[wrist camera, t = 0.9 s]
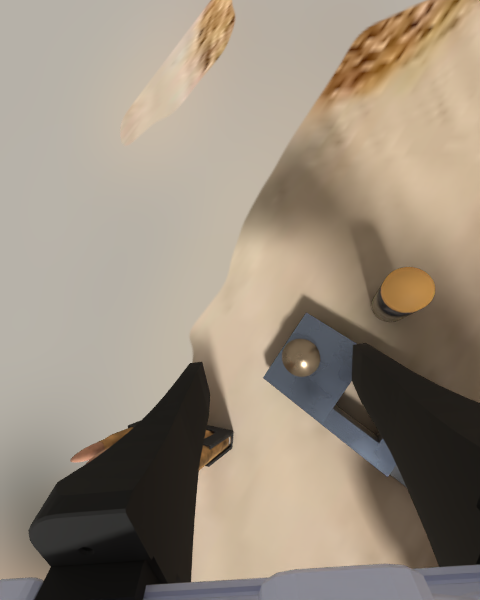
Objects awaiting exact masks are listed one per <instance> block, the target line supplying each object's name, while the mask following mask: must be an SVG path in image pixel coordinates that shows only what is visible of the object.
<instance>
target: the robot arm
mask: <svg viewBox="0 0 480 600" xmlns="http://www.w3.org/2000/svg"><path fill="white" fill-rule="evenodd" d="M352 381H353V384H354V386H355V389H356V391H357V393H358V396H359V398H360V400H361V402H362V404H363V405H364V407H365V409H366V410H367V412H368V414H369V416H370V417H371V419H372V421H373V422H374V424H375V426H376V428H377V429H378V431H379V433H380V434H381V436H382V438H383V440H384V441H385V443H386V445H387V447H388V449H389V450H390V452H391V454H392V456H393V458H394V461H395V463H396V465H397V467H398V469H399V471H400V474H401V476H402V478H403V480H404V482H405V485H406V487H407V489H408V491H409V494H410V496H411V498H412V500H413V503H414V505H415V507H416V510H417V512H418V515H419V517H420V519H421V522H422V524H423V527H424V529H425V531H426V534H427V536H428V539H429V541H430V544H431V546H432V549H433V552H434V554H435V557H436V559H437V562H438V564H439V567H432V568H416V569H411V568H409V567H407V566H405V565H396V564H373V565H358V566H342V567H326V568H310V569H294V570H289V571H284V572H279V573H276V574H274V575H273V576H271V577H269V578H253V579H237V580H221V581H204V582H191V570H192V550H193V534H194V518H195V506H196V493H197V483H198V472H199V465H200V459H201V453H202V448H203V443H204V438H205V432H206V427H207V422H208V416H209V405H210V392H209V388H208V384H207V379H206V375H205V371H204V367H203V363H202V362H197V363H190V364H189V365H188V367H187V368H186V369H185V370H184V372H183V373H182V374H181V376H180V377H179V378H178V380H177V381H176V382H175V383H174V385H173V386H172V387H171V389H170V390H169V391H168V392H167V393H166V395H165V396H164V397H163V398H162V399H161V400H160V401H159V403H158V404H157V405H156V406H155V407H154V408H153V409H152V410H151V411H150V413H148V414H147V415H146V416H145V417H144V418H143V420H141V421H140V422H139V423H138V424H137V425H136V426H135V427H134V428H133V429H131V430H130V431H129V432H128V433H127V434H125V435H124V436H123V437H122V438H121V439H120V440H118V441H117V442H116V443H115V444H113V445H112V446H111V447H109V448H108V449H107V450H105V451H104V452H103V453H101V454H100V455H99V456H97V457H96V458H94V459H93V460H92V461H90V462H89V463H87V464H86V465H84V466H83V467H81V468H79V469H78V470H76V471H75V472H73V473H72V474H70V475H69V476H67V477H65V478H64V479H62V480H60V481H59V482H57V484H56V485H55V487H54V489H53V490H52V492H51V494H50V495H49V497H48V498H47V500H46V502H45V503H44V505H43V507H42V508H41V510H40V511H39V513H38V514H37V516H36V518H35V519H34V521H33V522H32V524H31V526H30V529H29V537H30V541H31V543H32V544H33V546H34V547H35V548H36V550H38V552H39V553H40V554H41V555H42V557H43V558H44V559H45V560H46V561H47V562H48V564H49V565H50V566H51V568H50V570H49V572H48V574H47V576H46V578H45V580H44V581H43V580H41V579H38V578H16V579H2V580H0V600H480V403H478V402H476V401H473V400H470V399H468V398H466V397H463V396H461V395H459V394H456V393H454V392H452V391H450V390H448V389H446V388H443V387H441V386H439V385H437V384H435V383H433V382H431V381H429V380H427V379H426V378H424V377H422V376H420V375H418V374H416V373H415V372H413V371H411V370H409V369H408V368H406V367H404V366H402V365H401V364H399V363H397V362H396V361H394V360H393V359H391V358H389V357H388V356H386V355H385V354H383V353H381V352H380V351H378V350H377V349H375V348H373V347H372V346H370V345H368V344H367V343H363V344H354V345H353V353H352Z"/></svg>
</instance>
